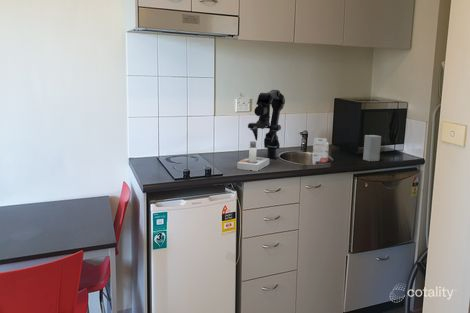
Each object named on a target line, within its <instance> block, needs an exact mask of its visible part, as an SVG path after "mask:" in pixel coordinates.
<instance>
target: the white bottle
mask: <svg viewBox="0 0 470 313" xmlns="http://www.w3.org/2000/svg"><path fill="white" fill-rule="evenodd" d="M248 149H249V151H248V152H249V153H248V157H249V163H254V164H256V157H257V141H253V140H252V141H250V142H249V147H248Z"/></svg>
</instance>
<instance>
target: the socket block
mask: <svg viewBox="0 0 470 313" xmlns="http://www.w3.org/2000/svg"><path fill="white" fill-rule="evenodd" d="M270 159H271V158H266V157H261V156H256V164H254V163H249V156H247V157H246V158H243V159H241V160H240V161H238V162H237V163H236V169H237V170H245V171H250V170H252V171H251V172H259V171H260V170H262V169H263V168H265V167H268V166H269V165H270ZM258 170H259V171H258Z"/></svg>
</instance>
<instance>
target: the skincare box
mask: <svg viewBox="0 0 470 313" xmlns="http://www.w3.org/2000/svg"><path fill="white" fill-rule="evenodd" d="M363 144H364V145H363V153H362V156H363V157H362V160H363V161H367V162H370V161H371V162H379V161H380V157H381V146H382V145H381V144H382V135H375V134H369V135H368V134H365V135H364V142H363Z"/></svg>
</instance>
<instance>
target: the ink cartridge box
mask: <svg viewBox="0 0 470 313" xmlns="http://www.w3.org/2000/svg"><path fill="white" fill-rule="evenodd" d="M329 144H330V143H329V142H328V139H327V138H324V137H313V143H312V161H313V162H318V163H327V162H328V160H329Z"/></svg>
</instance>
